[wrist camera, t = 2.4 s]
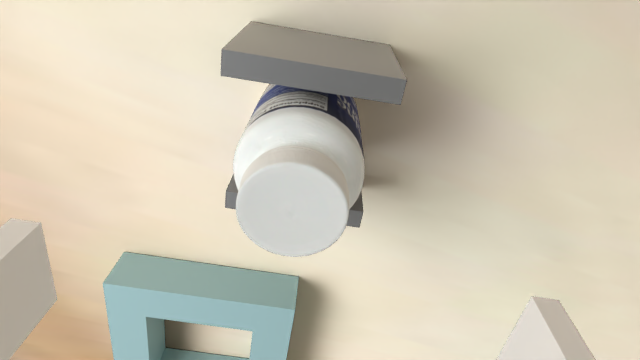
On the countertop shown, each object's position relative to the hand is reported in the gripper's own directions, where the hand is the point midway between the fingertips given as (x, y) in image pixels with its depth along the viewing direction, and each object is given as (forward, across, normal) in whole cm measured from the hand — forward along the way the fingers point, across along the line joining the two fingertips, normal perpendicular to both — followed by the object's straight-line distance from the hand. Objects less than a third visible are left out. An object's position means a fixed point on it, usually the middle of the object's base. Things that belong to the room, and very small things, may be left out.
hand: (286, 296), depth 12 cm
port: (+13, -5, -18) cm, 23 cm away
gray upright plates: (+13, 0, 0) cm, 13 cm away
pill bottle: (+14, 0, 0) cm, 14 cm away
